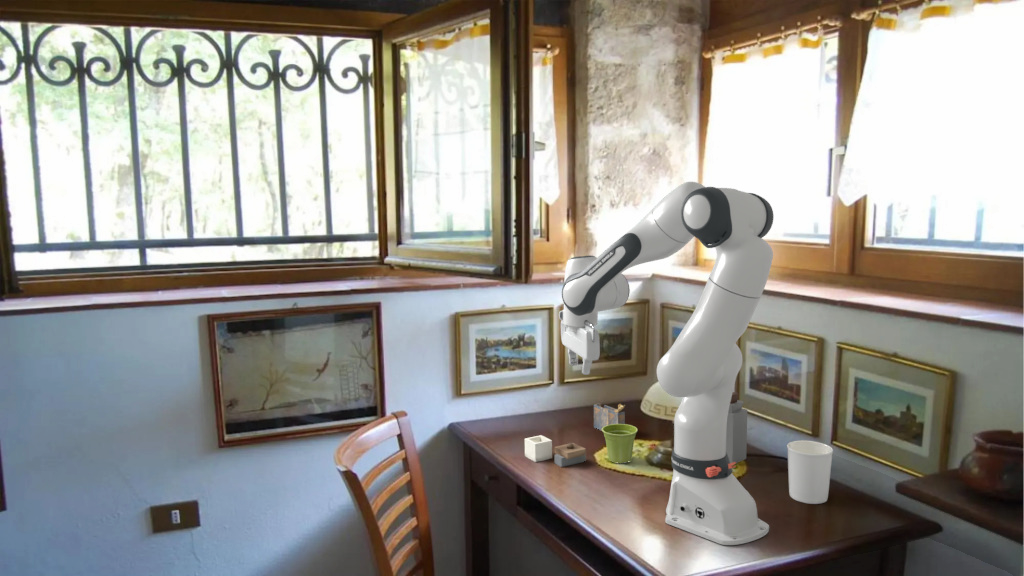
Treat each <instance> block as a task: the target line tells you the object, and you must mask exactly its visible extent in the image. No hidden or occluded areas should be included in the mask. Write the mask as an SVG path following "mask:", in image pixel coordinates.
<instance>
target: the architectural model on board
mask: <svg viewBox="0 0 1024 576" xmlns="http://www.w3.org/2000/svg"><path fill="white" fill-rule="evenodd" d="M625 406H626V404H624V405H623V404H622V402H621V403H619V404H618V405H617V408H614V407H611V406H609V405H606V404H604V405H603V407H602V403H595V404H593V428H594V429H596V428H597V429H596V430H598V429H599V431H602V428H603V427H604V426H606V425H611V424H626V422H625V421H626V420H625V419H626V417H625V416H626V414H625V413H626V412H625V411H622V410H623V409H624V408H625ZM602 432H603V431H602Z"/></svg>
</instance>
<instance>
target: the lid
mask: <svg viewBox="0 0 1024 576" xmlns="http://www.w3.org/2000/svg"><path fill="white" fill-rule="evenodd" d="M554 453H555V455H556V454H558V455H560V456H562V457H564V458H566V459H570V458H574V457H579V456H583V455H586V456H587V448H585V447H583V446H581V445H578V444H576V443H574V442H570V443H569V442H568V443H567V444H566V443H565V444H562V445H557V446H554Z"/></svg>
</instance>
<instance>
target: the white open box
mask: <svg viewBox="0 0 1024 576" xmlns="http://www.w3.org/2000/svg"><path fill="white" fill-rule="evenodd" d="M524 457H525V458H527V459H529V460H531V461H533V462H534V463H537V462H541V461H546V460H551V459H553V440H552V439H550V438H548V437H546V436H544V435H542V434H540V435H536V436H535V435H534V436H532V437H527V438H524Z"/></svg>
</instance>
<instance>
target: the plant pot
mask: <svg viewBox="0 0 1024 576" xmlns="http://www.w3.org/2000/svg"><path fill="white" fill-rule="evenodd" d="M602 433H603V436H604V438H605V444H606V445H605V446H606V450H607V451H606V452H607V457H608V458H607V459H608V460H609V462H610V461H612V462H618V463H620V464H623V463H624V462H628V461H630V462H632V457H633V451H634V444H635V438H636V435H637V433H638V428H637V427H636V426H634V425H632V424H627V423H625V424H611V425H606V426H604V427H603V428H602ZM612 462H611V463H612ZM628 463H629V462H628ZM624 464H625V463H624Z"/></svg>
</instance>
